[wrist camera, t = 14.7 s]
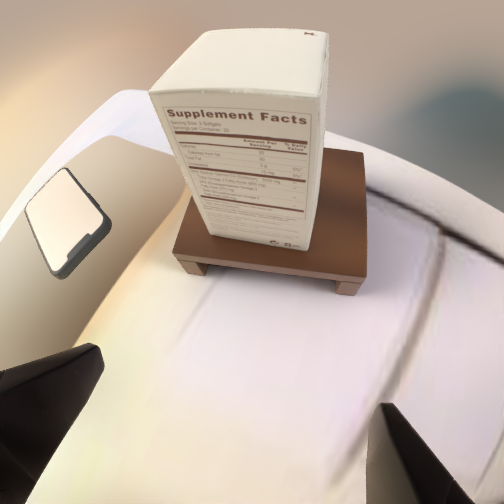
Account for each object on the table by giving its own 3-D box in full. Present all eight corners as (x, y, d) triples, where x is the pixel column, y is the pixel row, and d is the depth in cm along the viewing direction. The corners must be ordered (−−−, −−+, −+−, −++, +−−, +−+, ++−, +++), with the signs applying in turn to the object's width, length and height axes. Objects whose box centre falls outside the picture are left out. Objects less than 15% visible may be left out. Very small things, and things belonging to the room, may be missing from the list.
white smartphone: (28, 214, 32) (62, 287, 26) (21, 208, 30) (52, 280, 24) (70, 170, 34) (118, 227, 28) (65, 163, 33) (111, 218, 27)
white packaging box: (235, 164, 25) (205, 28, 13) (322, 176, 23) (333, 30, 12) (206, 237, 21) (140, 90, 10) (308, 256, 20) (325, 93, 9)
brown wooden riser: (354, 296, 22) (366, 277, 19) (187, 273, 25) (171, 252, 21) (356, 180, 27) (363, 152, 24) (220, 168, 30) (212, 140, 26)
